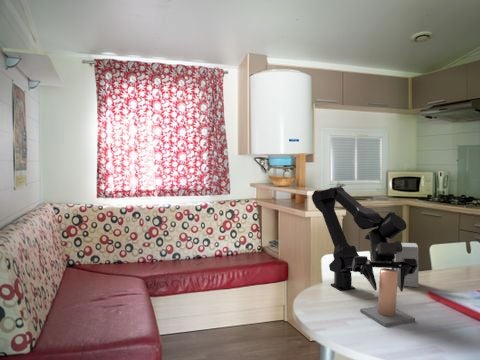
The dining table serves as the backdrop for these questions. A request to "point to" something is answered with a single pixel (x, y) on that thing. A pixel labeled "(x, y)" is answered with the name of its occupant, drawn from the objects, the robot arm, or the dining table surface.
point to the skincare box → (408, 252)
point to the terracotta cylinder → (387, 292)
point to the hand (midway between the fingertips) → (388, 290)
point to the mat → (387, 317)
